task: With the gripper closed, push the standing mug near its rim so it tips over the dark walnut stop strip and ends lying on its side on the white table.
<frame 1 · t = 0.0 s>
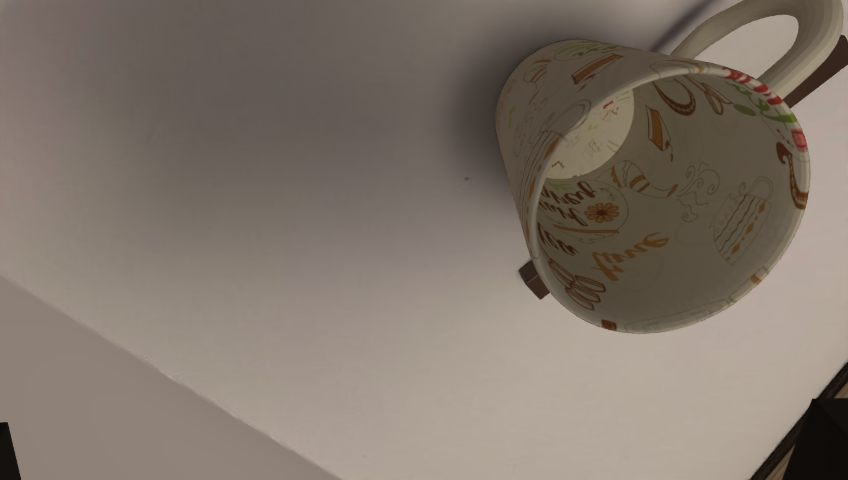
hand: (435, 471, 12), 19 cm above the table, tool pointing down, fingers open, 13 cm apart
stop strip: (671, 166, 31), on the table
mug: (604, 75, 29), on the table
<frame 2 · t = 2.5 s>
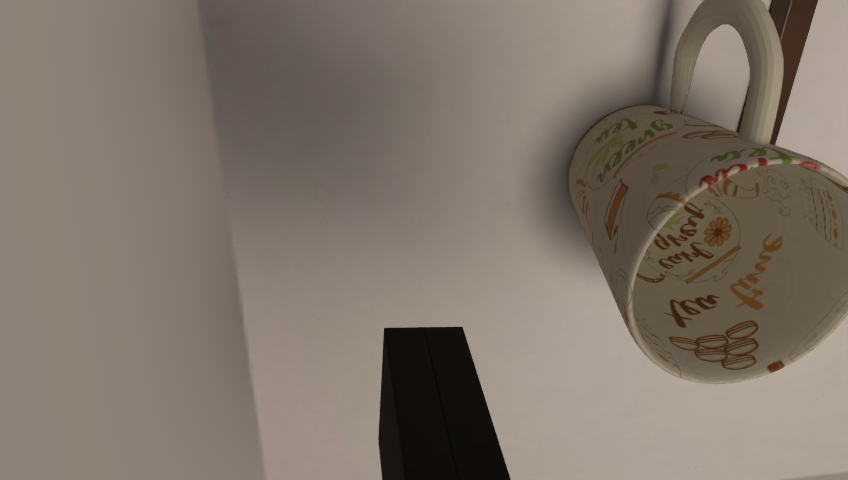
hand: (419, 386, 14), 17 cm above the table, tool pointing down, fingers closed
stop strip: (750, 127, 32), on the table
mug: (637, 122, 31), on the table
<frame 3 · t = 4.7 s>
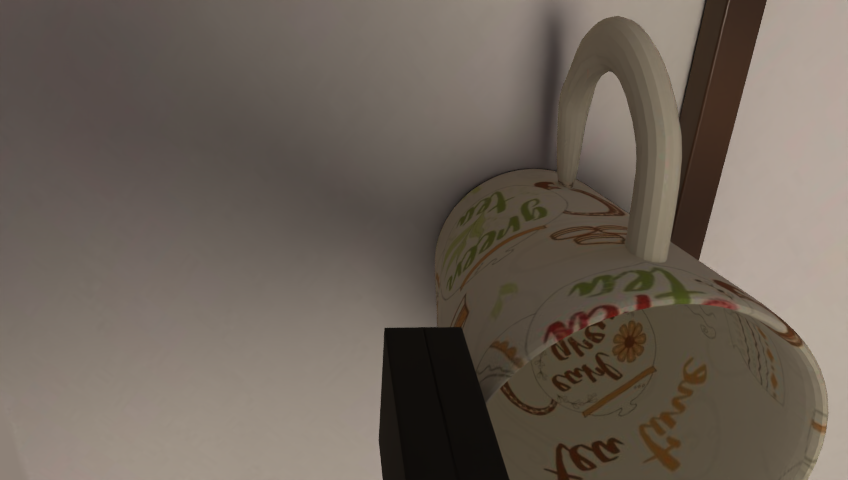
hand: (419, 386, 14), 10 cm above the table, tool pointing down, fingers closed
stop strip: (678, 193, 24), on the table
mug: (525, 190, 23), on the table, touching gripper
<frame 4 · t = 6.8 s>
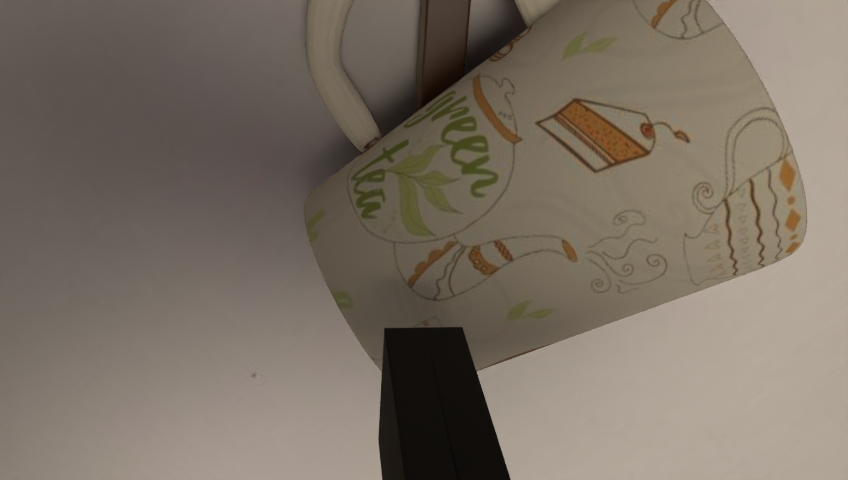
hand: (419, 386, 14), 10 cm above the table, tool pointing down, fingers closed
stop strip: (428, 193, 23), on the table
mug: (315, 228, 19), point 3 cm above the table, touching stop strip
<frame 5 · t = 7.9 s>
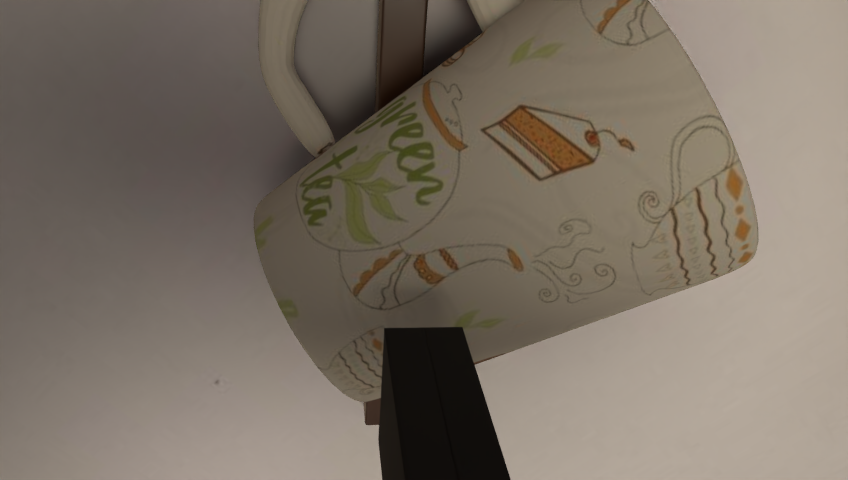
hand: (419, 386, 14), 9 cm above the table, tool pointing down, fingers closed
stop strip: (390, 199, 22), on the table
mug: (268, 234, 19), point 3 cm above the table, touching stop strip
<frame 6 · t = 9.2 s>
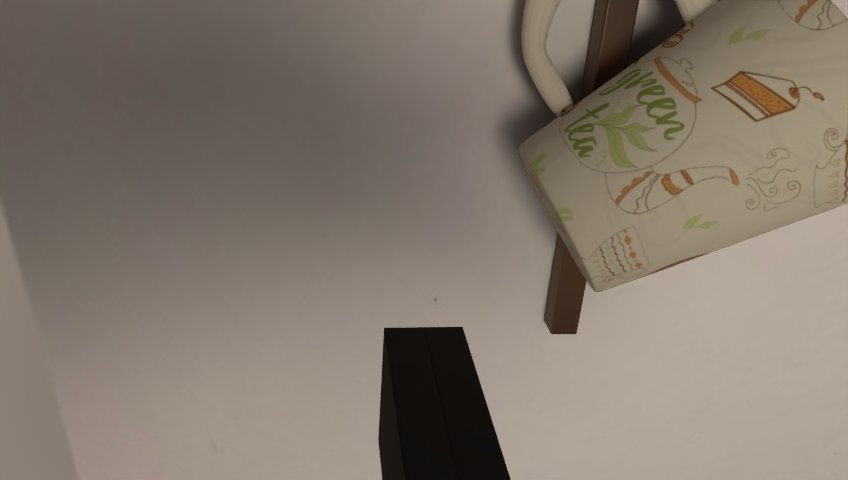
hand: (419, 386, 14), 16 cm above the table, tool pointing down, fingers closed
stop strip: (584, 153, 29), on the table
mug: (523, 171, 26), point 3 cm above the table, touching stop strip
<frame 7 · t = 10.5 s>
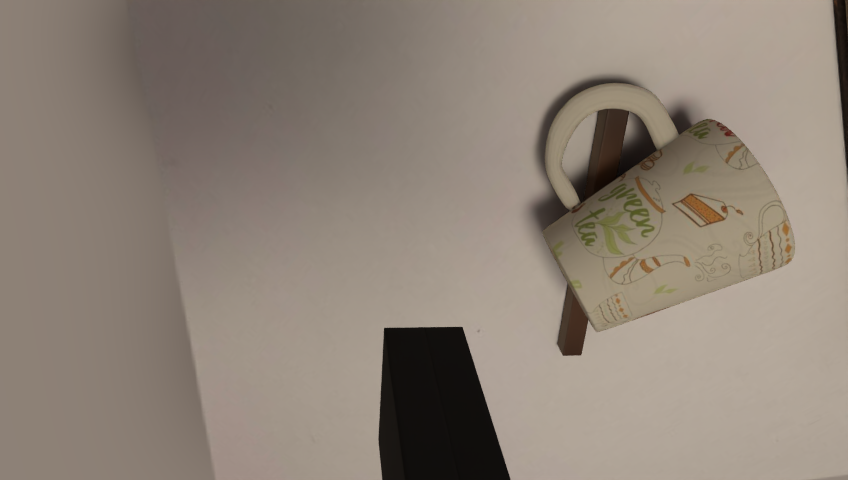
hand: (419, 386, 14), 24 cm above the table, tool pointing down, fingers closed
stop strip: (587, 228, 41), on the table
mug: (546, 249, 37), point 3 cm above the table, touching stop strip
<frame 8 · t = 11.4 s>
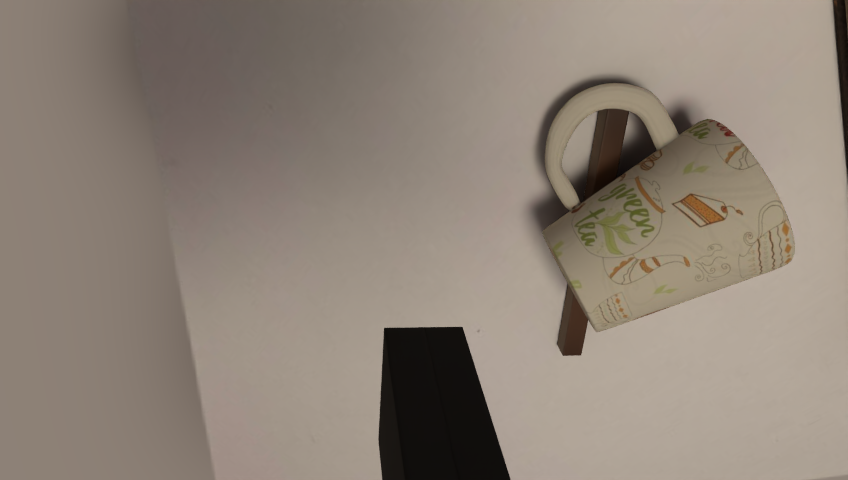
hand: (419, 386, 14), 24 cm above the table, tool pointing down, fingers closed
stop strip: (587, 228, 41), on the table
mug: (546, 249, 37), point 3 cm above the table, touching stop strip
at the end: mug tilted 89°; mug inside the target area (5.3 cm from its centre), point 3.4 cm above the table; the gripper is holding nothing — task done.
